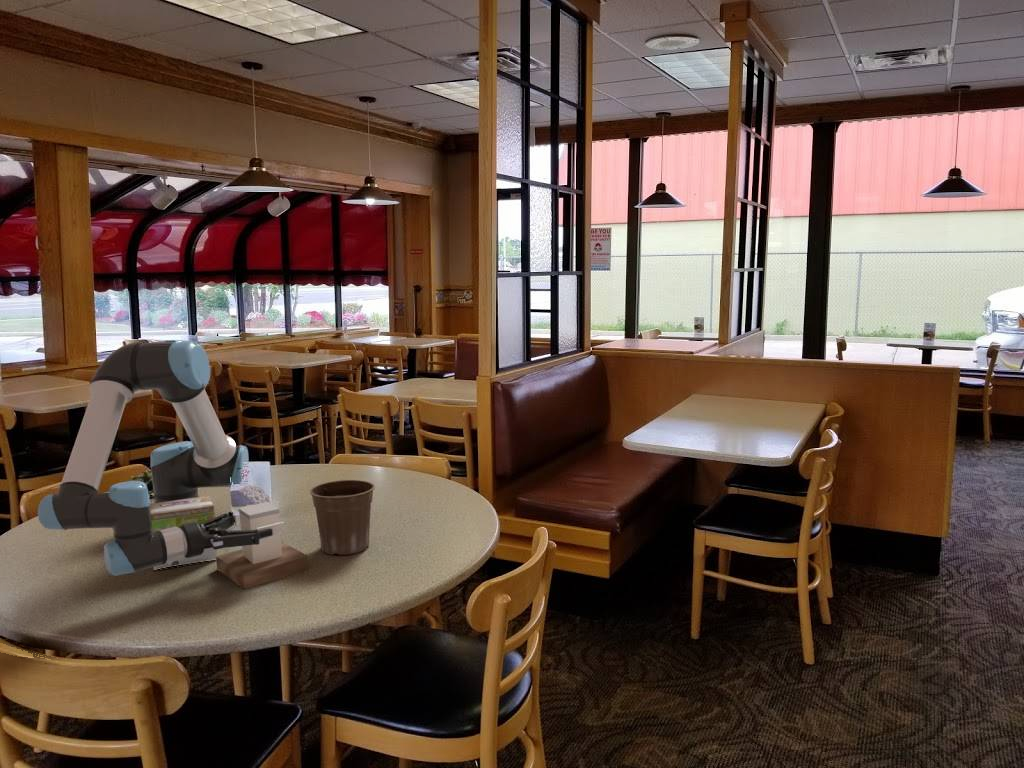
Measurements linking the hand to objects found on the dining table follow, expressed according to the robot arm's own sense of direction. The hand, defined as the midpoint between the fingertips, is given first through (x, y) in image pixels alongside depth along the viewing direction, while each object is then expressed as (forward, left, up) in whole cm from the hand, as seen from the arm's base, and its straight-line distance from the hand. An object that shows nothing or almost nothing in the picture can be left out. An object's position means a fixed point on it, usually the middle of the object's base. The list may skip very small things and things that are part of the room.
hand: (272, 520), depth 186 cm
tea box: (-20, -15, -12) cm, 28 cm away
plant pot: (+1, +19, -12) cm, 22 cm away
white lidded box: (0, -3, -8) cm, 9 cm away
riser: (0, -3, -12) cm, 13 cm away
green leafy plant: (-83, -7, -12) cm, 84 cm away
